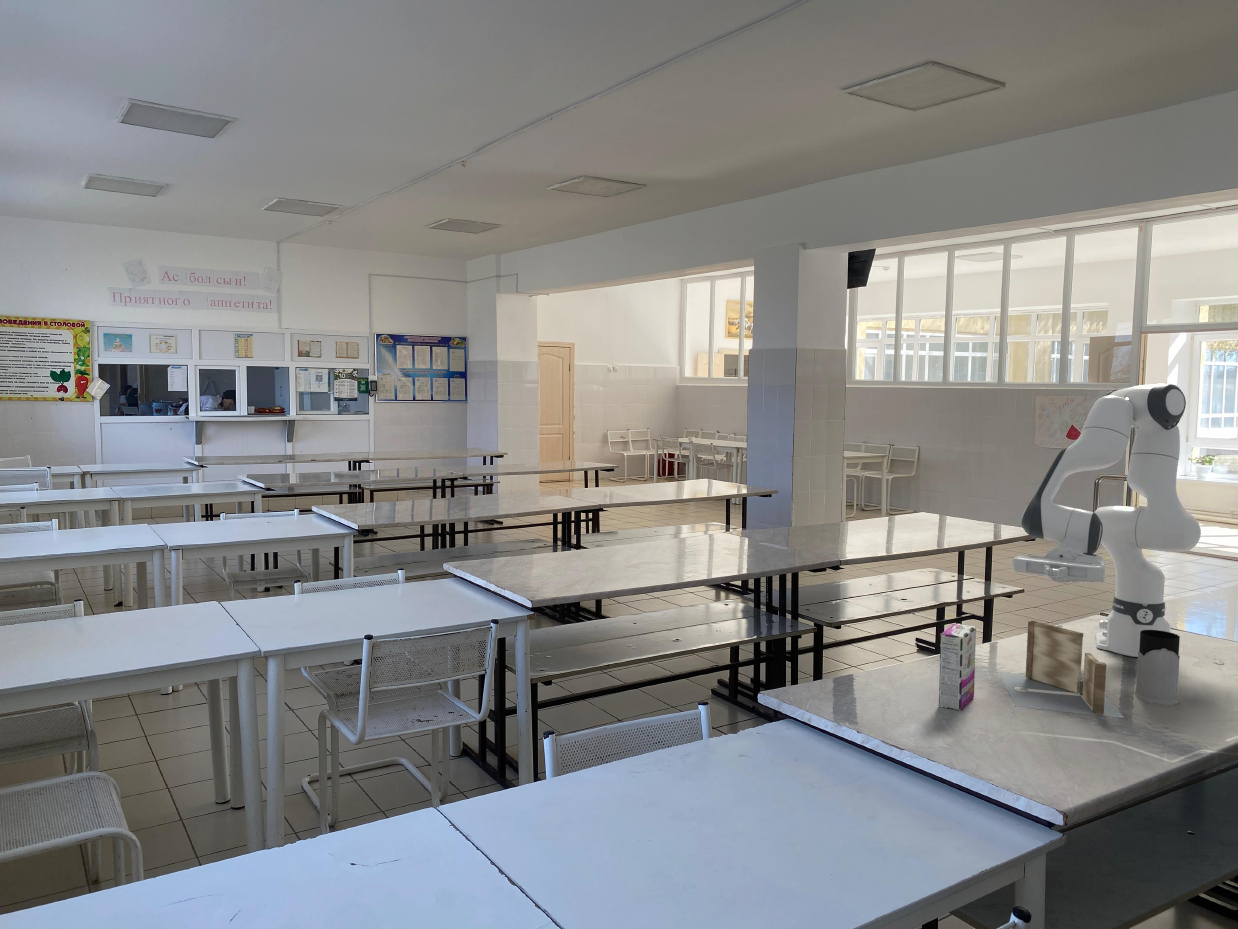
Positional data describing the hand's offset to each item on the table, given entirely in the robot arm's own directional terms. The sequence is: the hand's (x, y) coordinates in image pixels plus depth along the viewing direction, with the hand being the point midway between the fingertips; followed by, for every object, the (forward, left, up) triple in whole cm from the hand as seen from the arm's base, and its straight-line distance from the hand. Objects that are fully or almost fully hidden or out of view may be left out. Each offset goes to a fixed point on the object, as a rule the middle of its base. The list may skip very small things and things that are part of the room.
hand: (1052, 572), depth 202 cm
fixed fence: (+17, +6, -26) cm, 31 cm away
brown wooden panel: (+6, 0, -25) cm, 26 cm away
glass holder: (+5, +21, -26) cm, 34 cm away
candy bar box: (+24, -22, -26) cm, 42 cm away
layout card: (+12, 0, -26) cm, 29 cm away
